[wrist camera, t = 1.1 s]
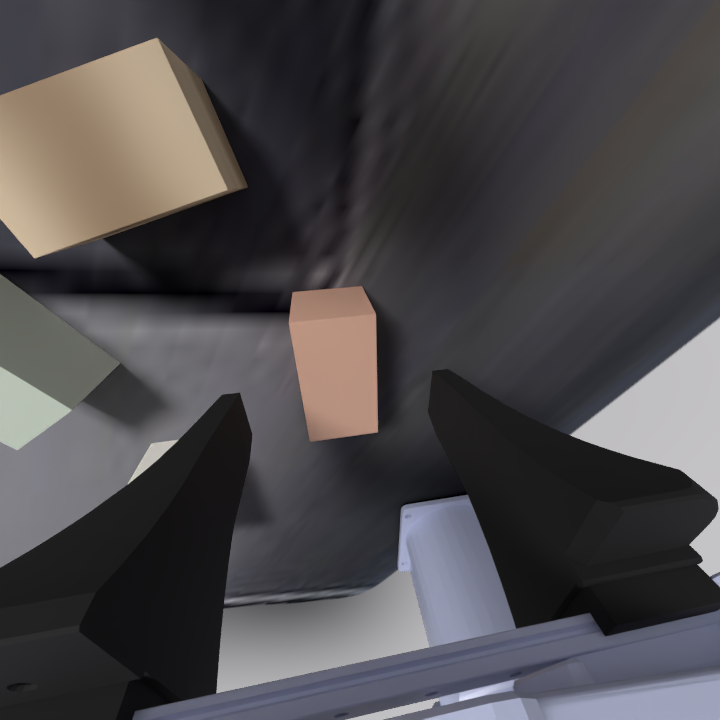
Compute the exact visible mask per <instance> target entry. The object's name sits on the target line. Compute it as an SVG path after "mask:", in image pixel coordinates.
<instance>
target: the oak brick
mask: <svg viewBox="0 0 720 720" xmlns="http://www.w3.org/2000/svg"><path fill="white" fill-rule="evenodd" d="M247 187H248V186H247V183H246V181H245V179H244V176H243V174H242V172H241V170H240V167H239V165H238V163H237V160H236V158H235V156H234V153H233V151H232V149H231V146H230V144H229V142H228V139H227V137H226V135H225V132H224V130H223V128H222V126H221V123H220V121H219V119H218V116H217V114H216V112H215V109H214V107H213V105H212V102H211V100H210V98H209V95H208V93H207V91H206V89H205V86H204V84H203V82H202V79H201V78H200V77H198V76H197V75H196V74H195V73H194V72H193V71H192V70H191V69H190V68H189V67H188V66H187V65H186V64H185V63H184V62H182V61H181V60H180V59H179V58H178V57H177V56H176V55H175V54H174V53H173V52H172V51H171V50H170V49H169V48H168V47H167V46H165V45H164V44H163V43H162V42H161V41H160V40H159V39H158V38H155V39H152V40H149V41H147V42H144V43H141V44H138V45H136V46H133V47H130V48H128V49H125V50H122V51H119V52H117V53H114V54H111V55H109V56H106V57H103V58H101V59H98V60H95V61H92V62H90V63H87V64H84V65H82V66H79V67H76V68H73V69H71V70H68V71H65V72H63V73H60V74H57V75H55V76H52V77H49V78H46V79H44V80H41V81H38V82H36V83H33V84H30V85H27V86H25V87H22V88H19V89H17V90H14V91H11V92H8V93H6V94H3V95H0V219H1V220H2V221H3V222H4V224H5V225H6V226H7V227H8V228H9V229H10V231H11V232H12V233H13V234H14V235H15V236H16V237H17V239H18V240H19V241H20V242H21V243H22V244H23V246H24V247H25V248H26V249H27V250H28V251H29V253H30V254H31V255H32V256H33V257H34V258H37V257H41V256H44V255H48V254H51V253H55V252H58V251H61V250H65V249H68V248H72V247H75V246H79V245H82V244H86V243H89V242H93V241H96V240H99V239H103V238H106V237H109V236H111V235H114V234H117V233H120V232H123V231H126V230H128V229H131V228H134V227H137V226H140V225H143V224H145V223H148V222H151V221H154V220H157V219H160V218H162V217H165V216H168V215H171V214H174V213H177V212H179V211H182V210H185V209H188V208H191V207H194V206H196V205H199V204H202V203H205V202H208V201H211V200H213V199H216V198H219V197H222V196H225V195H228V194H230V193H233V192H236V191H239V190H242V189H245V188H247Z"/></svg>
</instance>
